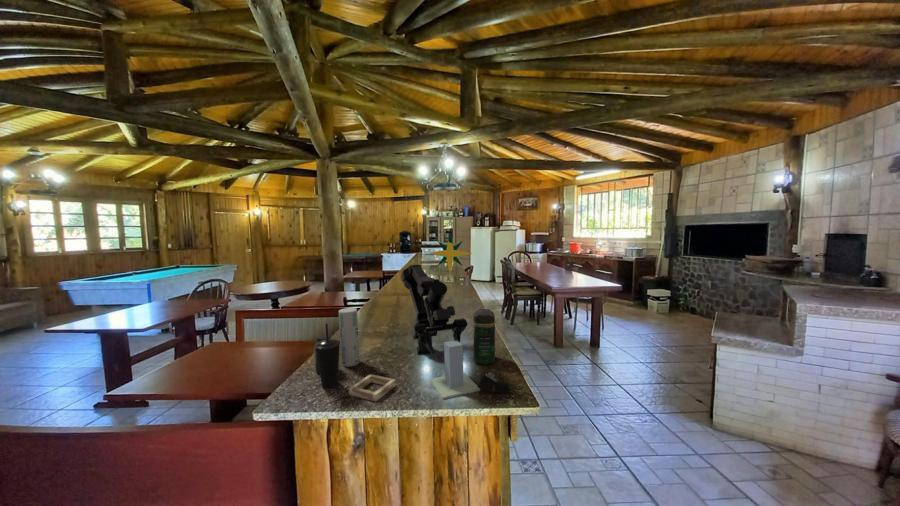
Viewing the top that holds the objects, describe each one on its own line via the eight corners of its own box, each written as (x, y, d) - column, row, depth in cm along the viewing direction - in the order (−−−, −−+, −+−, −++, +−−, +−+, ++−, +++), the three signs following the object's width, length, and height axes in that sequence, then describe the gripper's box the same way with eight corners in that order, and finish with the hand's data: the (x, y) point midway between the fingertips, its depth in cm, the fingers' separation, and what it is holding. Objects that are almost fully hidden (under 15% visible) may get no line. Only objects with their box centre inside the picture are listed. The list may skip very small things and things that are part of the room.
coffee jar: (495, 365, 117) (495, 314, 115) (473, 365, 118) (472, 314, 116) (495, 354, 126) (494, 307, 124) (474, 354, 127) (473, 307, 125)
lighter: (501, 398, 100) (511, 383, 100) (502, 402, 98) (513, 386, 97) (477, 383, 100) (487, 368, 99) (477, 387, 98) (487, 371, 97)
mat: (430, 381, 107) (430, 379, 107) (464, 374, 111) (464, 372, 111) (442, 399, 95) (442, 397, 95) (480, 390, 100) (480, 388, 100)
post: (445, 382, 104) (444, 342, 103) (457, 379, 106) (457, 340, 105) (450, 388, 100) (449, 347, 99) (463, 385, 102) (462, 344, 101)
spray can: (359, 365, 120) (356, 311, 118) (340, 367, 118) (337, 313, 116) (359, 358, 126) (357, 307, 124) (342, 360, 124) (339, 308, 122)
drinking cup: (327, 393, 100) (323, 329, 99) (312, 387, 104) (308, 325, 103) (347, 382, 107) (344, 322, 105) (332, 377, 111) (328, 319, 109)
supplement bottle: (339, 366, 119) (338, 334, 118) (327, 375, 113) (325, 341, 111) (324, 364, 121) (322, 332, 120) (310, 372, 115) (308, 339, 114)
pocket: (370, 380, 108) (370, 374, 108) (395, 385, 104) (395, 379, 104) (349, 394, 99) (348, 388, 99) (376, 401, 95) (375, 394, 95)
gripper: (412, 301, 108) (423, 346, 99) (465, 295, 115) (479, 336, 106) (407, 318, 116) (417, 360, 107) (456, 311, 123) (469, 351, 114)
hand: (446, 351), depth 108 cm, fingers open, 9 cm apart
